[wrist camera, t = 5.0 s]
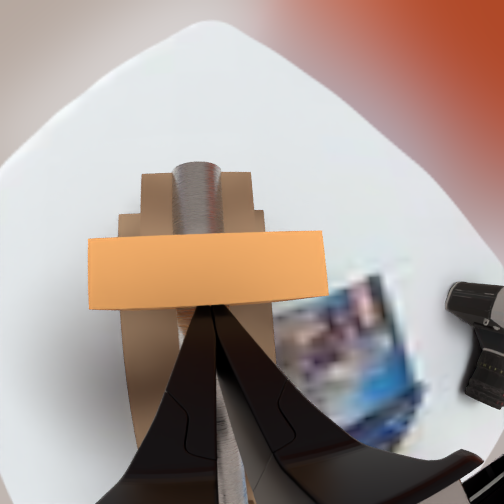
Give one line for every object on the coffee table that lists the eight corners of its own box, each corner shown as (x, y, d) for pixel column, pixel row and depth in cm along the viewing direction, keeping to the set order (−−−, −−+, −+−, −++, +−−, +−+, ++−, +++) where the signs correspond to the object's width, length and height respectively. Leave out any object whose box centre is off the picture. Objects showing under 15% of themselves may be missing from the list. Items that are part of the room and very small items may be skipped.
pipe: (257, 577, 12) (267, 600, 9) (217, 582, 11) (223, 606, 9) (220, 182, 16) (227, 159, 13) (169, 183, 15) (168, 160, 13)
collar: (264, 303, 17) (328, 295, 10) (132, 310, 16) (89, 309, 8) (261, 266, 18) (321, 230, 10) (130, 272, 16) (88, 239, 8)
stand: (282, 517, 19) (321, 578, 11) (161, 531, 17) (160, 599, 9) (259, 214, 23) (299, 164, 15) (121, 218, 21) (90, 167, 13)
